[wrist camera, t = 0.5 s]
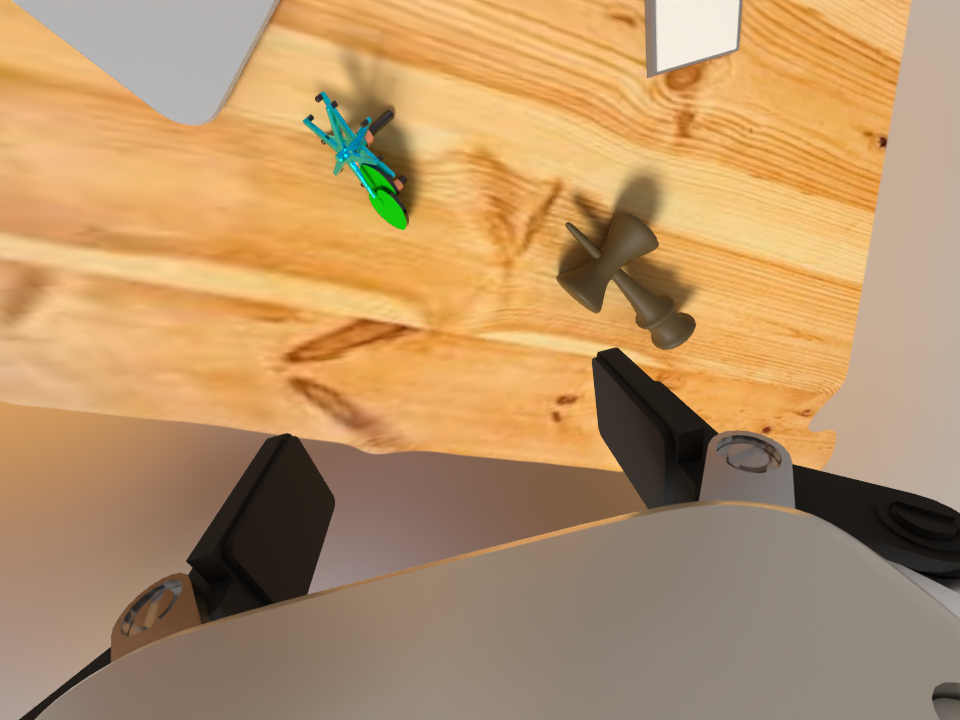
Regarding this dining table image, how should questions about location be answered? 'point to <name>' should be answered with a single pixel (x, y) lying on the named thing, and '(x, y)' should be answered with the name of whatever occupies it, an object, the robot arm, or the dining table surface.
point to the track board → (689, 32)
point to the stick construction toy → (364, 161)
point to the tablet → (163, 46)
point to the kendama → (626, 280)
